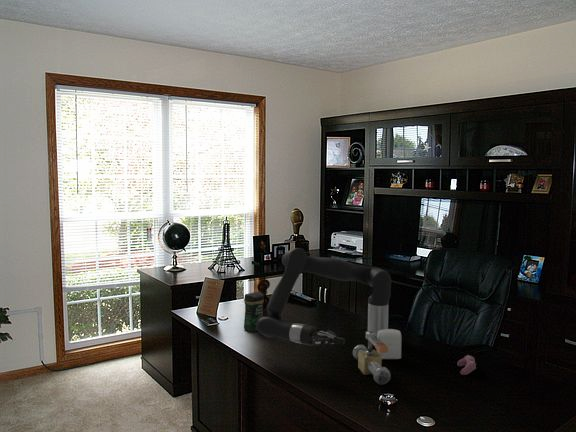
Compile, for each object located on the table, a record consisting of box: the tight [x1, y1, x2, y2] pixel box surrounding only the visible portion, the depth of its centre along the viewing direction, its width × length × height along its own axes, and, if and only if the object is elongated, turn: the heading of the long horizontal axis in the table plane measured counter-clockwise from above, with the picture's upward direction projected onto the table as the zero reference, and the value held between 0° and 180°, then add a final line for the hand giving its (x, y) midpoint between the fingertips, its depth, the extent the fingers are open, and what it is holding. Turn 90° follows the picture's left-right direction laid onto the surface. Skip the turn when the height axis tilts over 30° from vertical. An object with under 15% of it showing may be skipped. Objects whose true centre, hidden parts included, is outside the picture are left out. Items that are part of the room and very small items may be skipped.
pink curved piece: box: [456, 354, 477, 376], centre depth 190 cm, size 10×5×7 cm, turn 169°
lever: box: [365, 330, 388, 353], centre depth 183 cm, size 17×4×2 cm, turn 10°
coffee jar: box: [243, 290, 264, 333], centre depth 237 cm, size 10×8×19 cm
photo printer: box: [376, 328, 402, 360], centre depth 203 cm, size 10×4×12 cm, turn 90°
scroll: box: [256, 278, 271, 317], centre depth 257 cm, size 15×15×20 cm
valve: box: [352, 340, 392, 386], centre depth 189 cm, size 24×7×13 cm, turn 12°
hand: (344, 341), depth 183 cm, fingers closed
